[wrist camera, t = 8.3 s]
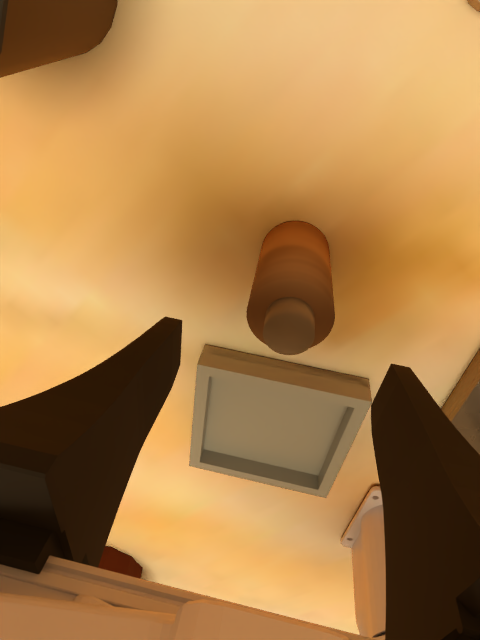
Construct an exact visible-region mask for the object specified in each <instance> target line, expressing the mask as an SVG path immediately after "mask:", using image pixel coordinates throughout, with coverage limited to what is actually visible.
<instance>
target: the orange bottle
mask: <svg viewBox="0 0 480 640" xmlns="http://www.w3.org/2000/svg"><path fill="white" fill-rule="evenodd" d="M334 319H335V312H334V301H333V289H332V278H331V266H330V255H329V246H328V242H327V240H326V238H325V236H324V235H323V233H322V232H321V231H320V230H319V229H318V228H316V227H315V226H313V225H311V224H309V223H306V222H301V221H290V222H285V223H283V224H280V225H278V226H276V227H275V228H273V229H272V230H271V231H270V232H269V233H268V234H267V236H266V237H265V239H264V241H263V244H262V248H261V252H260V257H259V261H258V265H257V269H256V273H255V278H254V282H253V286H252V290H251V294H250V299H249V303H248V307H247V321H248V324H249V327H250V329H251V331H252V332H253V334H254V335H255V336H256V337H257V338H258V339H259V340H260V341H262V342H263V343H265V344H266V345H268V347H269V348H271V349H272V350H273V351H275V352H277V353H280V354H284V355H295V354H299V353H302V352H304V351H306V350H307V349H308V348H311V347H313V346H315V345H317V344H319V343H320V342H321V341H323V340H324V339H325V338H326V337H327V336H328V334H329V333H330V331H331V329H332V327H333V324H334Z"/></svg>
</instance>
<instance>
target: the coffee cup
mask: <svg viewBox="0 0 480 640" xmlns="http://www.w3.org/2000/svg"><path fill="white" fill-rule="evenodd" d="M116 7H117V0H0V78H1V77H4V76H7V75H11V74H14V73H18V72H21V71H25V70H28V69H32V68H35V67H39V66H42V65H45V64H49V63H52V62H56V61H59V60H63V59H66V58H70V57H73V56H77V55H80V54H83V53H86V52H88V51H89V50H91V49H92V48H94V47H95V46H97V45H98V44H100V43H101V41H102V40H103V38H104V37H105V35H106V34H107V32H108V31H109V29H110V28H111V25H112V22H113V18H114V14H115V11H116Z"/></svg>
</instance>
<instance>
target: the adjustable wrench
mask: <svg viewBox="0 0 480 640" xmlns="http://www.w3.org/2000/svg"><path fill="white" fill-rule="evenodd" d="M467 1H468V3H469V4H470V5H471V6H472V7H473V8H474V9H476V10H477V11H479V12H480V0H467Z"/></svg>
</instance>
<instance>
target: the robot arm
mask: <svg viewBox="0 0 480 640" xmlns="http://www.w3.org/2000/svg"><path fill="white" fill-rule="evenodd" d="M181 336H182V320H178V319H174V318H169V317H164V318H163V319H161V320H160V321H159V322H157V323H156V324H155V325H154V326H152V327H151V328H150V329H149V330H147V331H146V332H145V333H143V334H142V335H141V336H140V337H138V338H137V339H136V340H134V341H133V342H131V343H130V344H129V345H127V346H126V347H125V348H123V349H122V350H120V351H119V352H117V353H116V354H114V355H113V356H111V357H110V358H108V359H107V360H105V361H104V362H102V363H100V364H99V365H97V366H95V367H94V368H92V369H90V370H88V371H87V372H85V373H83V374H81V375H79V376H77V377H75V378H73V379H71V380H69V381H67V382H64V383H62V384H60V385H58V386H55V387H53V388H51V389H49V390H47V391H44V392H42V393H39V394H36V395H34V396H31V397H29V398H26V399H23V400H20V401H17V402H14V403H11V404H8V405H5V406H2V407H0V640H480V455H479V453H478V452H477V451H476V450H475V449H474V448H473V447H472V446H471V445H470V444H469V442H468V441H467V440H466V439H465V438H464V437H463V436H462V434H461V433H460V432H459V431H458V430H457V429H456V427H455V426H454V425H453V424H452V422H451V421H450V420H449V419H448V418H447V416H446V415H445V414H444V412H443V411H442V410H441V409H440V407H439V406H438V405H437V403H436V402H435V401H434V399H433V398H432V397H431V395H430V394H429V393H428V391H427V390H426V389H425V387H424V386H423V384H422V383H421V382H420V380H419V379H418V378H417V376H416V375H415V374H414V372H413V371H412V370H411V368H410V367H405V366H400V365H395V364H391V365H390V367H389V369H388V371H387V374H386V376H385V378H384V380H383V382H382V384H381V386H380V388H379V390H378V392H377V394H376V396H375V399H374V401H373V403H372V405H371V425H372V438H373V445H374V451H375V458H376V464H377V470H378V476H379V482H380V487H379V486H374V487H372V488H371V489H370V491H369V492H368V494H367V496H366V498H365V499H364V501H363V503H362V504H361V506H360V508H359V509H358V511H357V513H356V515H355V516H354V518H353V520H352V521H351V523H350V525H349V527H348V528H347V530H346V532H345V533H344V535H343V537H342V538H341V544H342V545H343V546H345V547H349V548H352V565H353V581H354V598H355V615H356V622H357V627H358V630H359V633H360V635H357V634H353V633H349V632H345V631H341V630H337V629H333V628H330V627H326V626H322V625H318V624H314V623H310V622H306V621H302V620H298V619H295V618H291V617H287V616H283V615H279V614H275V613H271V612H267V611H264V610H260V609H256V608H252V607H248V606H244V605H240V604H236V603H232V602H229V601H225V600H221V599H217V598H213V597H209V596H205V595H201V594H197V593H194V592H190V591H186V590H182V589H178V588H174V587H170V586H166V585H163V584H159V583H155V582H151V581H147V580H143V579H139V578H135V577H131V576H128V575H124V574H120V573H116V572H112V571H108V570H104V569H100V568H98V566H99V563H100V560H101V557H102V554H103V551H104V548H105V545H106V542H107V539H108V536H109V533H110V530H111V528H112V525H113V522H114V519H115V516H116V513H117V511H118V508H119V505H120V502H121V500H122V497H123V494H124V491H125V489H126V486H127V483H128V481H129V478H130V475H131V473H132V470H133V468H134V465H135V463H136V460H137V457H138V455H139V452H140V450H141V448H142V446H143V444H144V441H145V439H146V437H147V435H148V434H149V432H150V430H151V428H152V426H153V424H154V422H155V420H156V418H157V416H158V414H159V412H160V410H161V408H162V406H163V404H164V402H165V400H166V398H167V396H168V394H169V392H170V390H171V388H172V386H173V383H174V380H175V378H176V375H177V372H178V369H179V366H180V359H181Z"/></svg>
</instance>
